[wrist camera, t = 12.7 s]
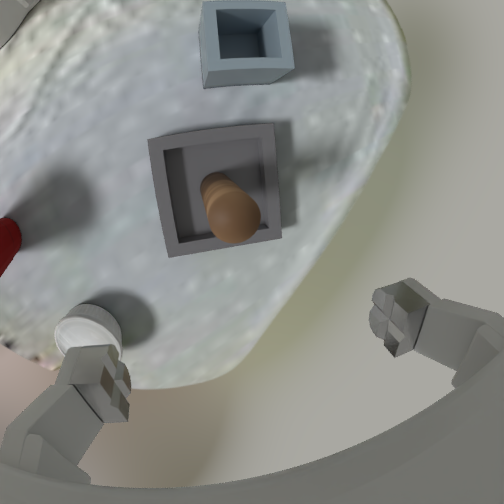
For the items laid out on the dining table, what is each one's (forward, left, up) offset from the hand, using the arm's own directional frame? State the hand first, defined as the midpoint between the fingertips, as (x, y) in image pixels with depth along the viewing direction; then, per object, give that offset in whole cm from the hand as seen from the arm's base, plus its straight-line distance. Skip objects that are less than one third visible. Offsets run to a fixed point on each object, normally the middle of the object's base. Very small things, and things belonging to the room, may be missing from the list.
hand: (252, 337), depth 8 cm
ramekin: (+19, -21, -29) cm, 41 cm away
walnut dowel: (+1, +2, -28) cm, 28 cm away
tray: (+1, +2, -29) cm, 29 cm away
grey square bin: (-16, +6, -29) cm, 34 cm away
